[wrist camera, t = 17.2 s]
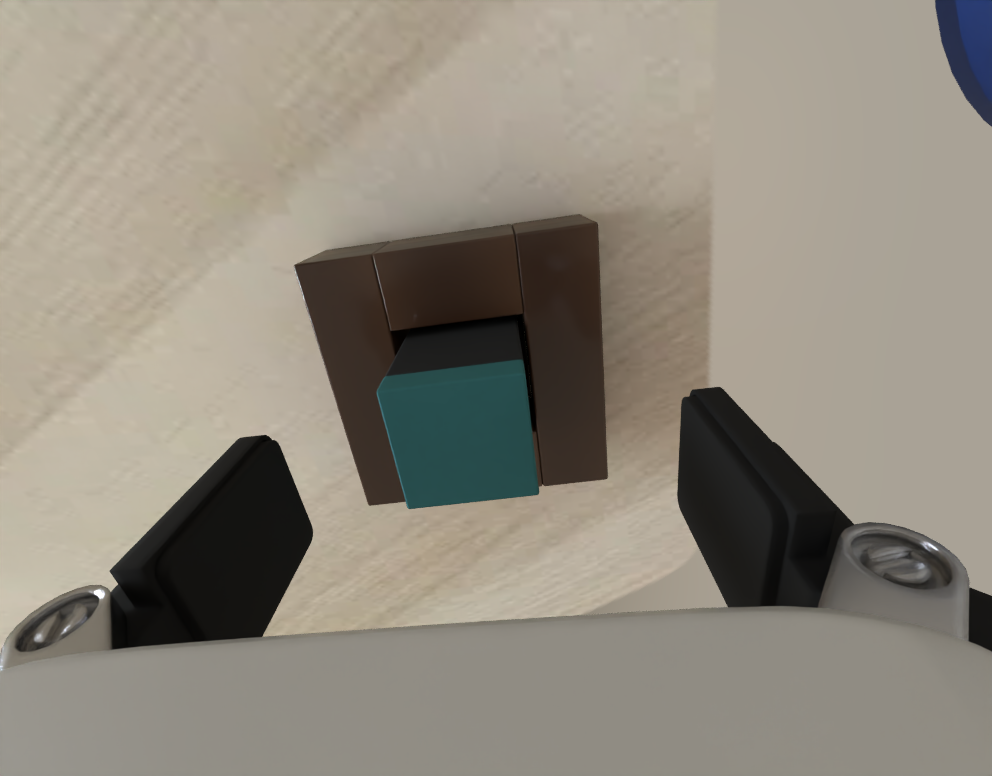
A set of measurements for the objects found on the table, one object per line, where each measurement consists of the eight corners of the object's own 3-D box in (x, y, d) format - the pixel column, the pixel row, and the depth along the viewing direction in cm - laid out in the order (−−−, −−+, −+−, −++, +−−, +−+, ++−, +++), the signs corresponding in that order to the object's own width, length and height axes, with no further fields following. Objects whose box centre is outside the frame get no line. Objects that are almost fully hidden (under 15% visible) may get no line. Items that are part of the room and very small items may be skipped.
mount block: (581, 213, 16) (598, 222, 14) (593, 439, 20) (608, 480, 18) (324, 250, 17) (292, 265, 14) (384, 463, 21) (368, 506, 18)
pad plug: (514, 301, 18) (525, 372, 11) (524, 389, 19) (539, 495, 13) (417, 314, 18) (374, 391, 12) (435, 400, 20) (407, 510, 13)
